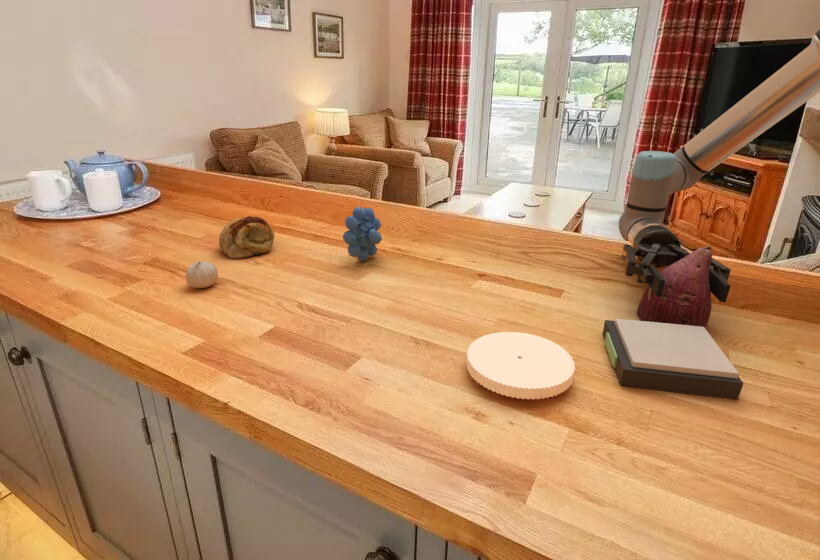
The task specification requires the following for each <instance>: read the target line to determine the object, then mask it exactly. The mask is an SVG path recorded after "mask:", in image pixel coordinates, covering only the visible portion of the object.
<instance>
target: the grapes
mask: <svg viewBox="0 0 820 560" xmlns="http://www.w3.org/2000/svg"><path fill="white" fill-rule="evenodd" d="M344 225H345V227H346V229H347V230H346V231H345V232H344V233H343V235H342V240H343V242H344V243H345V244H346V245H348V246H347V253H348V254H349V256H350V257H353V258H357V259H358V261H360V262H365V261H367V260H368V259H369V257H373V256H375V255H376V254H377V253H378V248H377V247H378V246H377V245H378V244H380V243H381V242H382V240H383V236H382V235H381V233H380V232H379V230H380V229H381V227H382V223H381V220H380V219H379V218H377V216H376V215H375V211H374V210H373V209H372V208H371V207H365V208H363V207H361V206H356V207H355V208H353V210H352V215H349V216H347V217H346V218H345V220H344Z"/></svg>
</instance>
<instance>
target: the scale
mask: <svg viewBox="0 0 820 560" xmlns="http://www.w3.org/2000/svg"><path fill="white" fill-rule="evenodd" d="M602 337H603V340H604V345H605V347H606V348H605V349H606V350H607V354H608V357H609V360H610V362H611V365H612V368H613V369H614V372H615V375H616V377H617V380H618V384H619V386H621V387H630V388H637V389H638V388H639V389H646V390H655V391H664V392H670V393H671V392H673V393H680V394H688V395H689V394H690V395H695V396H696V395H698V396H706V397H712V398H713V397H714V398H722V399H732V400H739V398H740V395H741V392H742V389H743V386H744V382H743V381H742V379H741V377H740V376H739V375H740V372H739V371H738V370H737V369H736V367H735V366H734V364H733V363H732V362H731V361H730V359H729V358H728V357H727V356H726V355H727V354H725V353H724V351H723V350H722V349H721V348H720V346H719V344H718V343H717V342H716V341H715V339H714V338H713V337H712V335H711V334H710V333H709V332H708V330H707V328H706V329H705V328H704V327H700V326H690V325H679V324H669V323H658V322H648V321H643V320H638V319H637V320H635V319H628V318H627V319H626V318H615V319H614V320H610V319H605V320H604V324H603V329H602Z"/></svg>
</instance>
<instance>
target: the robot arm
mask: <svg viewBox="0 0 820 560" xmlns="http://www.w3.org/2000/svg"><path fill="white" fill-rule="evenodd" d="M818 17H819V18H818V19H819V23H820V14H819V16H818ZM819 93H820V29H819V30H818V31H816V32H815V33H813V35H812V38H811V41H810V44H809V45H808V46H806V48H804V49H803V50H802V51H800V52H799V53H798V54H797V55H796V56H794V57H793V58H792V59H790V60H789V61H788V62H787V63H785V64H784V65H783V66H782V67H781V68H779V69H778V70H776V71H775V72H774V73H773V74H771V75H770V76H769V77H768V78H767V79H765V80H764V81H763V82H761V83H760V84H759V85H758V86H757V87H755V88H754V89H752V90H751V91H750V92H749V93H747V94H746V95H745V96H744V97H742V98H741V99H740V100H738V102H736V103H735V104H734V105H733V106H731V107H730V108H728V110H726V111H725V112H724V113H722V114H721V115H720V116H719V117H717V118H716V119H715V120H714V121H712V122H711V123H709V125H707V126H706V127H705V128H704V129H702V130H701V131H700V132H698V133H697V134H696V135H695V136H693V138H691V139H690V140H689V141H687V142H686V143H685V144H684V145H683V146H682V147H680V148H678V149H677V150H676V151H675V152H673V153H672V152H669V151H661V150H660V151H659V150H643V151H640V152H638V153H637V154H636V156H635V159H634V163H633V167H632V168H631V178H630V183H629V189H628V195H627V200H626V204H625V209H624V211H623V212H622V213H621V214H620V216H619V217H618V224H617V225H618V230H619V233H620V235H621V237H622V239H623V240H624V241H625V242H626V241H629V242H630V243H632V244H631V245H633V247H632V246H630V245H628V243H626V244H623V245H622V246H623V247H622V252H621V257H620V258H621V259H622V260H623V261H624V273H625V274H624V275H625V276H626V277H633V276H634V275H635V276H637V277H636V283H639V284H647V285H649V286H650V288H651V289H652V291H653V292H654V294H655V295H656V296H658V297H661V296H662V292H663V288H664V284H665V279H664V278H663V277H662V275H661V274H660V271H659V270H658V269H661V268H667V267H668V266H670V265H671V264H673V263H675V262H677V261H679V260H681V259H682V258H684V257H686V256H687V255H689V254H690V253H691V252H689V251H688V250H687V249H686V248H683V247H682V245H681V243H680V239H679V238H678V236H676V234H675V233H674V232H673V231H672V230H671V229H670V228H669V227H668V226H667V225H666V224H665V223H664V220H665V216H666V211H667V207H668V203H669V199H670V195H672V194H675V193H678V192H682V191H685V190H688V189H689V188H692V187H693V186H694V185H696V184H697V183H698V182H699V181H700V179H701V178H702V177H703V176H706V174H708V173H709V172H710V171H712V170H713V169H715V168H716V167H717V166H719V165H720V164H722V162H724V161H725V160H727V159H729V158H730V157H731V156H733V155H734V154H735V153H737V152H738V151H740V150H741V149H742V148H744V147H746V146H747V145H748V144H749V143H751V142H752V141H754V139H756V138H758V137H759V136H760V135H762V134H763V133H765V132H766V131H767V130H769V129H770V128H772V127H773V126H774V125H777V123H779V122H780V121H781V120H783V119H784V118H786V117H787V116H789V115H790V114H792V113H793V112H794V111H796V110H797V109H798V108H800V107H802V105H804V104H805V103H807V102H808V101H809V100H811V99H812V98H814V97H815V96H817V95H819ZM636 258H637V260H638V261H639V262H640V263H639V264H638V263H636V262H637V261H636ZM731 271H732V269H731V268H729V267H728V266H726V265H724V264H723V263H722V262H720V261H718V260H716V259H715V258H713V257H712V259H711V264H710V267H709V284H710V291H711V294H712V295H713V296H714V297H715V298H716V300H718V301H719V302H720V303H727V299H728V296H729V292H730V289H731V285H730V283H729V282H728V281H729V278H730V274H731Z"/></svg>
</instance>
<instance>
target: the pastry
mask: <svg viewBox="0 0 820 560" xmlns="http://www.w3.org/2000/svg"><path fill="white" fill-rule="evenodd" d="M221 230H222V231H220V233H219V237H218V246H219V250H220V251H221V252H222V253H223V254H225V255H226V257H228V258H229V259H234V260H239V259H247V258H251V257H253V256H255V255H261V254H266V253H268V252H271V250H272V247H273V244H274V239H275V232H274V230H273V228H272V227H271V225H270V224H269V223H268V221H267V220H266V219H264V218H262V217H260V216H251V215H248V216H241V217H238V218H234V219H232V220H230V221H228V222H227V223H226V224H225V225H224V227H223V228H222V229H221Z"/></svg>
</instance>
